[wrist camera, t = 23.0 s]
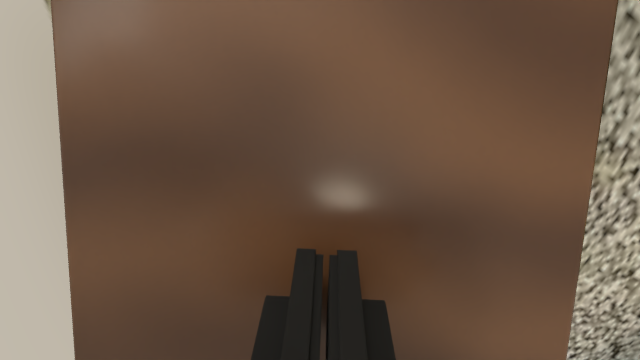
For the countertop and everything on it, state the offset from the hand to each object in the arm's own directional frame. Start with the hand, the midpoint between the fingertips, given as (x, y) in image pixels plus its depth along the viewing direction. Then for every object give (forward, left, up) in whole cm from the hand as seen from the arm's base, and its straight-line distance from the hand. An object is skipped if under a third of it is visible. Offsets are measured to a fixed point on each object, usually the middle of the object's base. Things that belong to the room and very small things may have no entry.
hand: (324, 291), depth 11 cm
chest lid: (-2, +1, -2) cm, 3 cm away
